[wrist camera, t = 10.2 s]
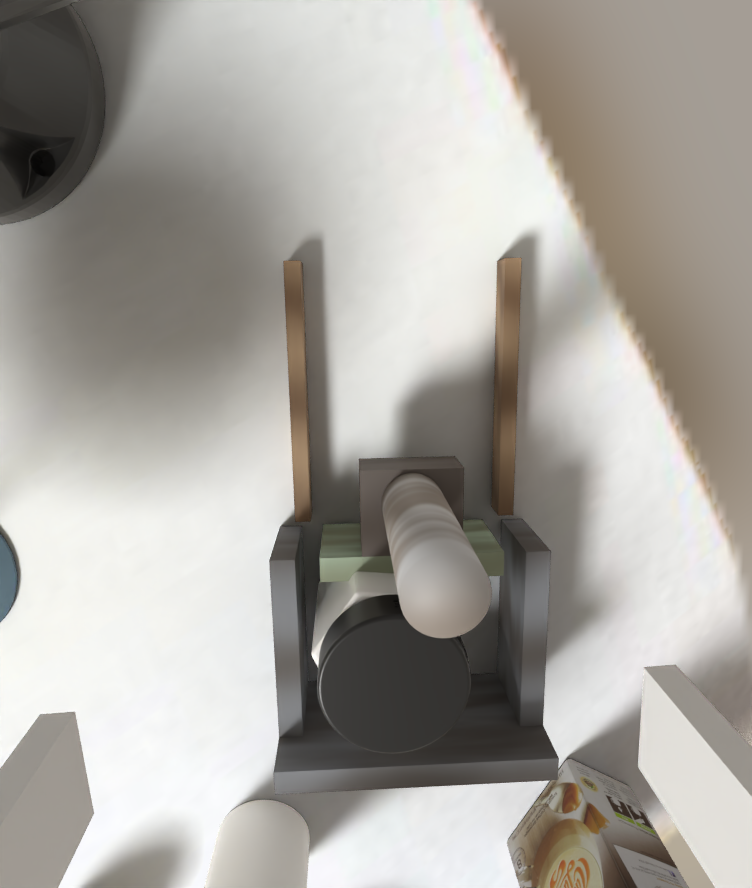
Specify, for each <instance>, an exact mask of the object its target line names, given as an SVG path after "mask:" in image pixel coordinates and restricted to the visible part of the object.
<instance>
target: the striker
mask: <svg viewBox="0 0 752 888" xmlns="http://www.w3.org/2000/svg"><path fill="white" fill-rule="evenodd" d="M359 486H360V523H348V524H323V531H322V540H321V549H320V558H319V560H320V582H339V581H349V580H350V578H351V577H352V575H353V574H354V573H355V572H357V571H360V572H377V573H393V574H394V575H395V581H396V586H397V591H398V596H399V602H400V606H401V610H402V613H403V615H404V617H405V618H406V620H407V621H408V622H409V624H410V625H411V626H412V627H413V628H415V629H416V630H417V631H419V632H421V633H422V634H425V635H427V636H431V637H435V638H452V637H457V636H460V635H463V634H465V633H467V632H469V631H470V630H472V629H473V628H474V627H476V626H477V625H478V624H479V623H480V622H481V621H482V619H483V618H484V617H485V615H486V613H487V611H488V609H489V606H490V603H491V597H492V588H491V583H490V580H489V577H488V576H504V551H503V550H502V548H501V547H500V545H499V544H498V542H497V541H496V539H495V538H494V536H493V535H492V533H491V532H490V530H489V529H488V527H487V526H486V524H485V523H484V521H483V520H482V519H475V520H463V499H464V467H463V466H462V465H461V464H460V462H459V461H458V460H457V458H456V457H455V456H446V457H409V458H371V459H359Z"/></svg>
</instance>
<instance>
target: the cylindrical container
mask: <svg viewBox="0 0 752 888" xmlns="http://www.w3.org/2000/svg"><path fill="white" fill-rule="evenodd" d="M309 844H310V834H309V829H308V826H307V824H306V822H305V820H304V818H303V817H302V816H301V815H300V814H299V813H298V812H297V811H296V810H295V809H293V808H292V807H290V806H288V805H286V804H284V803H282V802H278V801H274V800H254V801H250V802H246V803H244V804H242V805H240V806H238V807H236V808H235V809H233V810H232V811H231V812H230V813H229V814H228V815H227V816H226V817H225V818H224V820H223V821H222V823H221V825H220V828H219V831H218V834H217V838H216V842H215V846H214V850H213V854H212V858H211V862H210V866H209V870H208V874H207V878H206V882H205V886H204V888H307V873H308V859H309Z"/></svg>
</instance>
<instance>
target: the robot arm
mask: <svg viewBox="0 0 752 888" xmlns="http://www.w3.org/2000/svg"><path fill="white" fill-rule="evenodd" d="M77 1H80V0H0V225H2V224H10V223H15V222H20V221H23V220H26V219H29V218H32V217H35V216H37V215H39V214H41V213H43V212H45V211H47V210H49V209H50V208H52V207H54V206H55V205H56V204H58V203H59V202H60V201H62V200H63V199H64V198H65V197H66V196H67V195H68V194H69V193H70V192H71V191H72V190H73V189H74V188H75V187H76V186H77V185H78V184H79V182H80V181H81V180H82V178H83V177H84V175H85V174H86V172H87V170H88V169H89V167H90V165H91V163H92V161H93V159H94V157H95V154H96V152H97V149H98V146H99V143H100V139H101V135H102V130H103V124H104V115H105V92H104V83H103V77H102V72H101V67H100V63H99V60H98V56H97V53H96V50H95V48H94V45H93V43H92V40H91V38H90V36H89V34H88V32H87V30H86V28H85V26H84V24H83V22H82V21H81V19H80V17H79V16H78V14H77V13H76V11H75V10H74V8H73V7H72V6H71V4H72V3H75V2H77ZM638 768H639V769H640V771H641V773H642V774H643V776H644V777H645V779H646V780H647V782H648V783H649V785H650V787H651V788H652V790H653V791H654V793H655V794H656V796H657V797H658V799H659V801H660V802H661V804H662V805H663V807H664V808H665V810H666V811H667V813H668V815H669V816H670V818H671V819H672V821H673V822H674V824H675V826H676V827H677V829H678V830H679V832H680V833H681V835H682V836H683V838H684V840H685V841H686V843H687V844H688V846H689V847H690V849H691V850H692V852H693V854H694V855H695V857H696V858H697V860H698V861H699V863H700V864H701V866H702V868H703V869H704V871H705V872H706V874H707V875H708V877H709V879H710V880H711V881H712V883H713V885H714V886H715V888H752V747H751V745H750V744H749V743H748V742H747V741H746V740H745V739H744V738H743V737H742V736H741V735H740V734H739V733H738V731H737V730H736V729H735V728H734V727H733V726H732V725H731V724H730V723H729V722H728V721H727V720H726V719H725V717H724V716H723V715H722V714H721V713H720V712H719V711H718V710H717V709H716V708H715V707H714V706H713V705H712V703H711V702H710V701H709V700H708V699H707V698H706V697H705V696H704V695H703V694H702V693H701V692H700V690H699V689H698V688H697V687H696V686H695V685H694V684H693V683H692V682H691V681H690V680H689V679H688V678H687V676H686V675H685V674H684V673H683V672H682V671H681V670H680V669H679V668H678V667H677V666H676V665H665V666H653V667H644V672H643V689H642V706H641V722H640V739H639V756H638ZM93 814H94V811H93V806H92V800H91V795H90V790H89V784H88V779H87V774H86V768H85V763H84V758H83V752H82V747H81V742H80V736H79V731H78V726H77V720H76V715H75V712H65V713H53V714H40V715H39V717H38V718H37V719H36V721H35V722H34V724H33V725H32V726H31V728H30V729H29V730H28V732H27V733H26V734H25V736H24V737H23V739H22V740H21V741H20V743H19V744H18V745H17V747H16V748H15V750H14V751H13V752H12V754H11V755H10V756H9V758H8V759H7V760H6V762H5V763H4V765H3V766H2V767H1V769H0V888H58V886H59V884H60V882H61V880H62V878H63V876H64V874H65V872H66V870H67V868H68V866H69V864H70V862H71V860H72V858H73V856H74V854H75V851H76V849H77V847H78V845H79V843H80V841H81V839H82V837H83V835H84V833H85V831H86V829H87V827H88V825H89V823H90V821H91V818H92V816H93Z"/></svg>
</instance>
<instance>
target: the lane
mask: <svg viewBox="0 0 752 888" xmlns="http://www.w3.org/2000/svg"><path fill="white" fill-rule="evenodd" d="M521 259H522V258H504V259H502V260H499V261H497V295H496V335H495V376H494V417H493V457H492V498H491V507H492V508H493V509H494V511H495V512H496V513H497V514H498V516H499V515H513V505H514V474H515V443H516V412H517V382H518V351H519V320H520V289H521ZM283 264H284V286H285V307H286V329H287V351H288V373H289V395H290V417H291V439H292V461H293V483H294V505H295V522H307V521H311V516H312V494H311V469H310V443H309V418H308V392H307V367H306V342H305V316H304V291H303V266H302V262H301V261H283ZM501 548H502V550H503V551H504V576H500V591H499V626H498V661H497V673H486V674H470V675H471V688H470V694H469V698H468V702H467V704H466V707H465V709H464V711H463V713H462V715H461V716H460V718H459V719H458V721H457V722H456V723H455V725H454V726H453V727H452V728H451V729H450V730H449V731H448V732H447V733H446V734H444V735H443V736H442V737H440V738H439V739H438V740H436V741H434V742H433V743H431V744H429V745H427V746H425V747H422V748H420V749H416V750H413V751H409V752H403V753H380V752H374V751H370V750H366V749H363V748H361V747H358V746H356V745H354V744H352V743H351V742H349V741H347V740H346V739H344V738H343V737H342V736H341V735H339V734H338V733H337V732H336V731H335V730H334V729H333V728H332V726H331V725H330V724H329V722H328V721H327V719H326V718H325V716H324V714H323V712H322V709H321V706H320V703H319V699H318V694H317V681H309V678H308V655H307V632H306V609H305V586H304V563H303V540H302V526H284V527H280V529H279V532H278V535H277V538H276V541H275V545H274V548H273V551H272V554H271V557H270V560H269V562H270V580H271V598H272V616H273V634H274V652H275V670H276V688H277V706H278V724H279V743H278V749H277V755H276V761H275V768H274V785H275V794H294V793H313V792H333V791H352V790H372V789H391V788H411V787H430V786H450V785H469V784H489V783H509V782H528V781H548V780H558V762H559V758H558V756H557V754H556V752H555V750H554V748H553V746H552V743H551V741H550V739H549V737H548V735H547V733H546V731H545V729H544V727H543V709H544V688H545V666H546V645H547V623H548V602H549V580H550V559H551V551H550V550H549V549H548V547H547V546H546V545H545V544H544V543H543V542H542V541H541V539H540V538H539V537H538V536H537V535H536V534H535V533H534V531H533V530H532V529H531V528H530V527H529V526H528V525H527V523H526V522H525V521H524V520H523V519H506V520H501Z"/></svg>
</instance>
